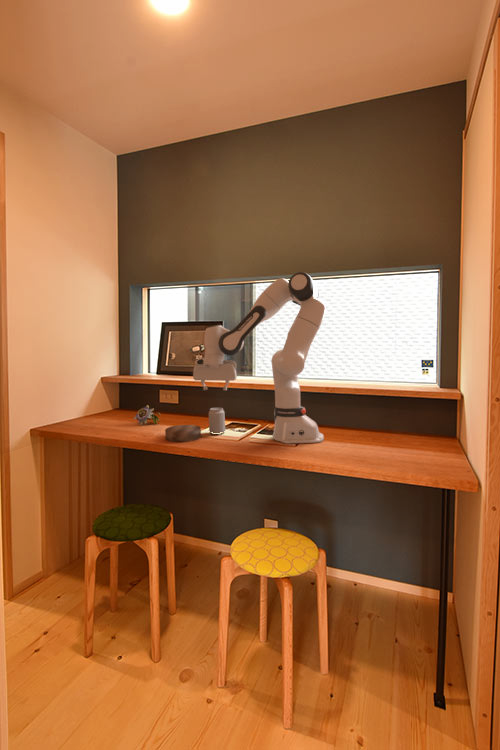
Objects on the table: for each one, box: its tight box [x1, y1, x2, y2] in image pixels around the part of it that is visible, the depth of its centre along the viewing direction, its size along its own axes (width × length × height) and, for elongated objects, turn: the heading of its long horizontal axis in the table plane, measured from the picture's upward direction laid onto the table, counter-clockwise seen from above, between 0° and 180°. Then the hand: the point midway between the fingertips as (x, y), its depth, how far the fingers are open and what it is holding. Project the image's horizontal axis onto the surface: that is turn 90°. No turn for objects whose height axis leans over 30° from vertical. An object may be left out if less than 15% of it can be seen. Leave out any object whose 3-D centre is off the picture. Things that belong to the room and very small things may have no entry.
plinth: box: [164, 424, 202, 443], centre depth 185 cm, size 16×16×4 cm
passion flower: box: [133, 404, 161, 426], centre depth 216 cm, size 11×11×12 cm
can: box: [208, 407, 226, 433], centre depth 190 cm, size 8×8×12 cm
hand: (215, 390), depth 189 cm, fingers open, 8 cm apart
